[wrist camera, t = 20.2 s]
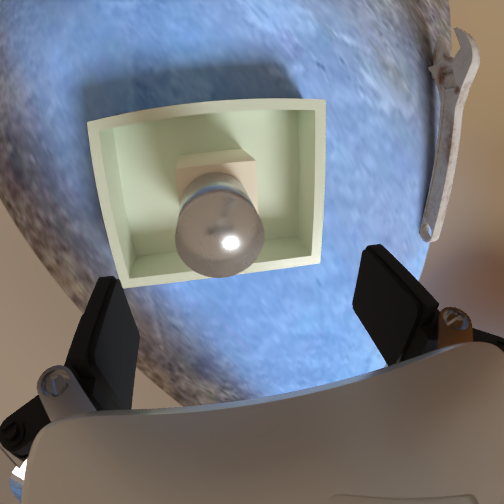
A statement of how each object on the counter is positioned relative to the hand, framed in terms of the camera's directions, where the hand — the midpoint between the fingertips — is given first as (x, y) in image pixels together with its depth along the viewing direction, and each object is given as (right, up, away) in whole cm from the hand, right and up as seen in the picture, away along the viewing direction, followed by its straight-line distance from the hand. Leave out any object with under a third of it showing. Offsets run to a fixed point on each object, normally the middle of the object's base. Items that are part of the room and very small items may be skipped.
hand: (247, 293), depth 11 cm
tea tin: (-3, +5, +11) cm, 13 cm away
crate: (-4, +9, +18) cm, 20 cm away
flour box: (-4, +8, +17) cm, 20 cm away
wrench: (+24, +17, +20) cm, 36 cm away
